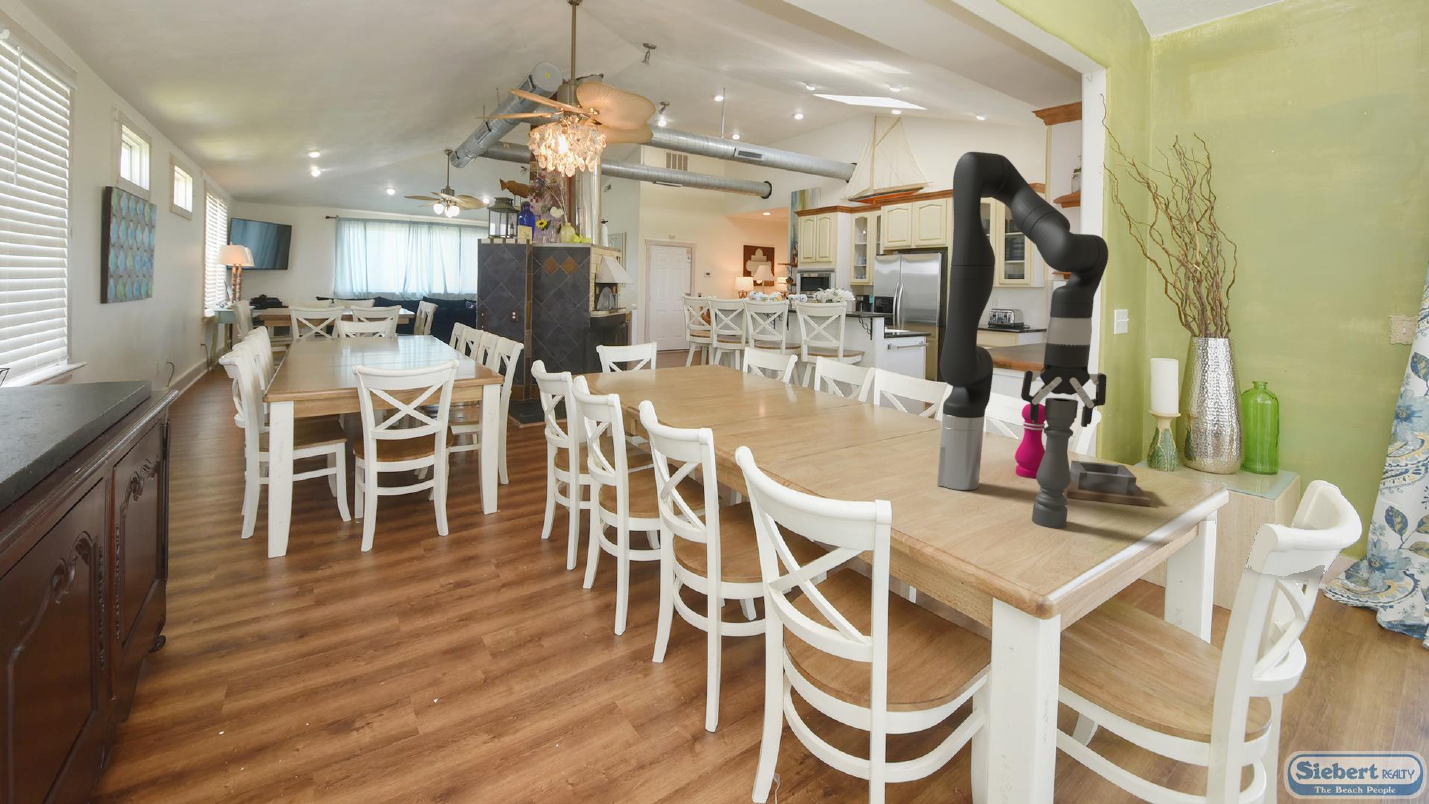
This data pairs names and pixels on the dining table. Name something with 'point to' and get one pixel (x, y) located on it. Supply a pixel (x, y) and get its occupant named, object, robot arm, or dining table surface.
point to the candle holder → (1055, 464)
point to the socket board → (1104, 484)
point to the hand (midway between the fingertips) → (1059, 424)
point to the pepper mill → (1030, 444)
